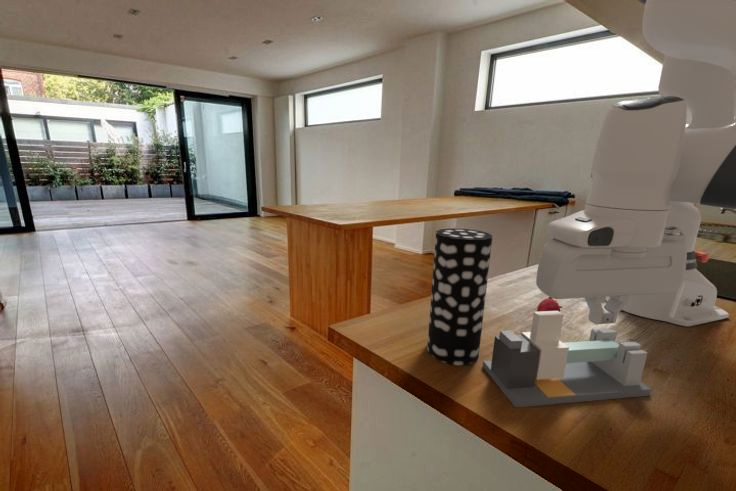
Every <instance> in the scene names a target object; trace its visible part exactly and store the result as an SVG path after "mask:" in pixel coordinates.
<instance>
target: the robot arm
mask: <svg viewBox="0 0 736 491" xmlns="http://www.w3.org/2000/svg"><path fill="white" fill-rule="evenodd" d="M637 1H639V2H640V3H641V4H645V5H644V8H643V9H644V10H643V16H642V24H641V25H642V26H641V27H642V28H641V32H642V35H643V37H644V39H645V41H646V43H647V44H648V45H649V46H650V47H651V48H652V49H653V50H655V51H656V52H658V53H659V54H662V55H664V57H663V58H664V59H663V62H662V67H661V72H660V73H661V74H660V77H659V82H658V94H659V96H653V97H652V96H651V97H643V98H641V97H640V98H637V99H626V100H622V101H619V102H617V103H615V104H613V105H612V106H610V107H609V108H608V109H607V112H606V114H605V117H604V120H603V122H602V126H601V129H600V131H599V134H598V138H597V141H596V145H595V150H594V154H593V157H592V158H593V159H592V163H591V164H592V165H591V173H590V175H591V179H592V181H591V182H592V184H591V188H590V192H589V194H588V196H587V197H586V199H585V205H584V210H579V211H578V212H575V213H572V214H570V215H567V216H564V217H561V218H558V219H556V220H553V221H550V222H549V223H548V224H547V229H546V234H547V237H549V238H551V239H550V240H548V241H547V242H546V243H545V244H544V246H543V248H542V250H541V253H540V257H539V261H538V265H537V271H536V278H535V283H536V286H537V288H538V290H539V291H540V292H541V293H543V294H544V295H546V296H548V297H551V298H552V299H554V300H565V299H568V300H569V299H582V298H583V299H584V300H585V302H586V305H587V307H588V309H589V313H588V317H587V318H588V320H589V322H591V323H593V324H594V325H607V324H609V325H610V324H616V323H617V320H618V315H619V313H620V312H621V311H623V312H626V313H629V314H633V315H636V316H639V317H643V318H645V319H646V318H647V319H652V320H656V321H662V322H667V323H670V324H674V325H677V326H683V327H692V326H697V325H702V324H707V323H711V322H716V321H720V320H724V319H728V318H729V316H730V312H729V313H728V311H726V310H725V309H723V308H720V307H718V306H716V301H717V295H718V290H717V287H716V286H715V285H714V284H713V283H712V282H710V280H708V279H707V278H706V277H705V276H704V275H703V274H702V273H701V272H700V271H699V270H698V269H697V268H698V265H697V261H698V262H701V263H707V262H708V261H709V260H710V257H711V256H710V253H707V252H702V251H699V250H697V251H695V250H694V248H695V244H696V243H697V242H696V241H697V237H698V234H699V230H700V225H701V223H702V215H701V211H700V210H699V209H698V208H697V207H696V206H695V205H694V204H700V205H703V206H709V207H717V208H723V209H728V210H729V209H730V210H736V0H637ZM688 111H690V113H691V122H690V123H687V112H688ZM602 304H605V305H604V306H602Z"/></svg>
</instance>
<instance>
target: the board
mask: <svg viewBox="0 0 736 491" xmlns="http://www.w3.org/2000/svg"><path fill="white" fill-rule="evenodd" d="M491 363H492V359H491V360H483V361H482V368H483V370H485V372H486V373H487V374H488V375H489V376H490V377H491V379H492V380H493V381H494V382H495V384H496V386H498V388H499V389H500V390H501V391H502V393H503V394H504V395H505V396H506V397H507V399H508V400H509V401H510V402H511V404H512V405H513V407H515V408H526V407H537V406H545V405H547V406H548V405H557V404H558V405H560V404H569V403H571V404H572V403H581V402H592V401H602V400H614V399H624V398H625V399H626V398H635V397H638V398H639V397H646V396H647V397H648V396H649V397H650V396H651V393H652V392H651V391H652V388H650V387H649V386H648V385H646V384H644V383H643V382H642V381H640V385H633V386H624V385H622V384H621V383H619V382H618V381H617V380H615V379H614V378H613V377H611V376H610V375H608V374H607V373H606V372H604V371H603V370H602V369H600V368H599V367H598V366H596V365H595V364H593V363H592V362H591V361H590V362H576V363H566V367H565V372H564V377H563V378H552V379H539V380H537V379H536V378H535V384H534V387H528V388H515V389H506V388H505V386H504V385H503V384H502V383H501V382H500V380H499V379H498V378H497V377H496V376H495V374H494V373H493V372H492V371H491Z"/></svg>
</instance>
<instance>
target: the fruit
mask: <svg viewBox="0 0 736 491" xmlns="http://www.w3.org/2000/svg"><path fill="white" fill-rule="evenodd" d="M562 308H563V306H561V305H560V304H559V303H558V301H557V299H553V298H551V297H549V296H548V298H544V299H542V300H541V301H540V302H539V304H538V306H537V308H536V312H540V311H559V312H561V309H562Z"/></svg>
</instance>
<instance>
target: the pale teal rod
mask: <svg viewBox="0 0 736 491" xmlns="http://www.w3.org/2000/svg"><path fill="white" fill-rule="evenodd" d="M563 343H564V344H565V345H566V346H568V347H569V351H568V356H567V361H566V363H576V362H590V361H604V360H613V357H616V356H617V351H618V347H619V343H618V342H616V341H615V342H614V341H612V340H600V341H589V340H587V341H586V340H585V341H571V342H570V341H569V342H568V341H567V342H563Z"/></svg>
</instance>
